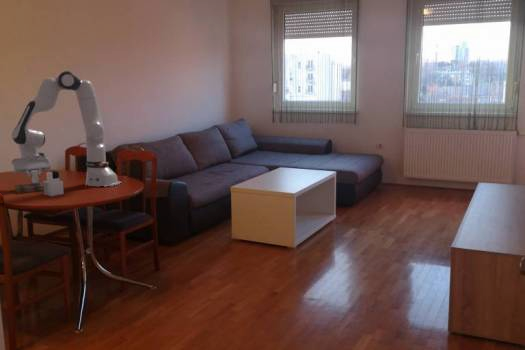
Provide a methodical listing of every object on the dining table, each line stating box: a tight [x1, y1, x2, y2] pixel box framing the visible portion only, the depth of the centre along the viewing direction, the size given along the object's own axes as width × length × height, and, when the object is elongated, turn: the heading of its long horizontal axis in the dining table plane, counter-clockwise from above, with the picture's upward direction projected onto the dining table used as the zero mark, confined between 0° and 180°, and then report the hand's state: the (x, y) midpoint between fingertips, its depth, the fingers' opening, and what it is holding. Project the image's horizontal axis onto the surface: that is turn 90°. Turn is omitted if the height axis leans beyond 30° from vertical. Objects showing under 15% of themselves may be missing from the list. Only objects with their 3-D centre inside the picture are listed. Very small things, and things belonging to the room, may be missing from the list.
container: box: [42, 170, 64, 197], centre depth 298 cm, size 8×8×13 cm
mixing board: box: [14, 181, 44, 194], centre depth 311 cm, size 20×11×3 cm, turn 126°
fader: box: [30, 170, 41, 185], centre depth 310 cm, size 4×5×8 cm
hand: (35, 176), depth 309 cm, fingers closed on fader, 3 cm apart
